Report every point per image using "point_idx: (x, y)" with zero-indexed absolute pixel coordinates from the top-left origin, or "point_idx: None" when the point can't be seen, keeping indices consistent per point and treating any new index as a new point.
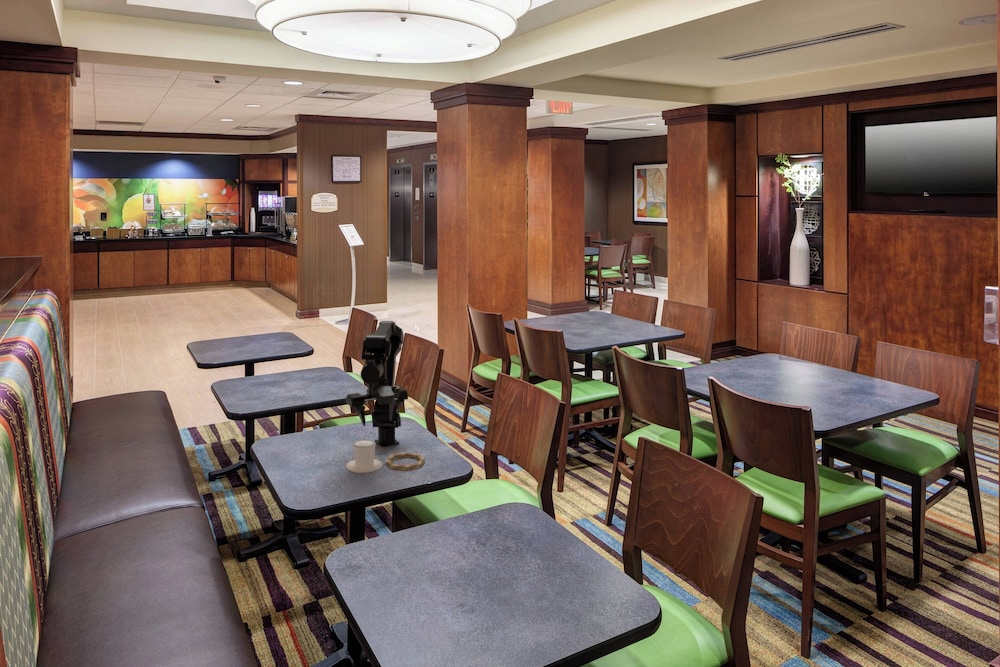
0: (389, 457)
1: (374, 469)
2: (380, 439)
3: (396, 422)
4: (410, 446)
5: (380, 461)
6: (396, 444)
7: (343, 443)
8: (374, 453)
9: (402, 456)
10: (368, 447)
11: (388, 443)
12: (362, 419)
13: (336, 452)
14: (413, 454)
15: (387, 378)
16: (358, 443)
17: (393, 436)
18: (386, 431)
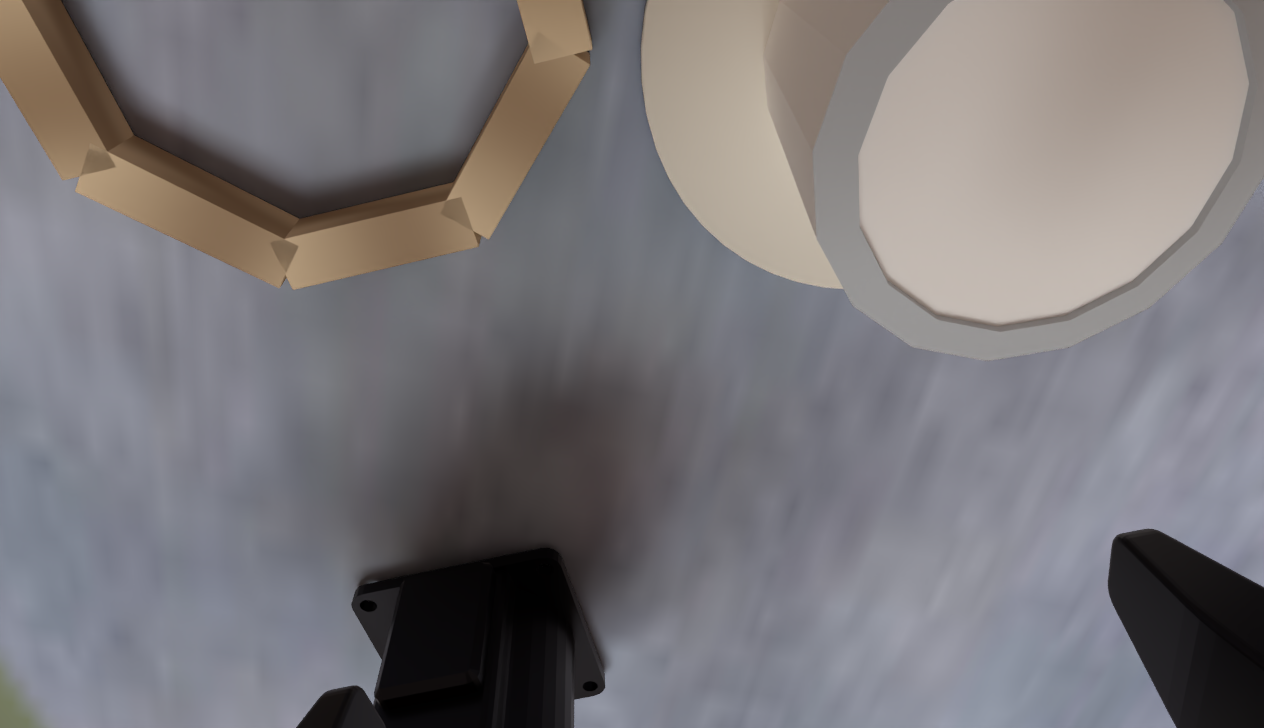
0: (516, 156)
1: None
2: (556, 650)
3: None
4: (226, 516)
5: (652, 119)
6: (386, 580)
7: (888, 692)
8: (794, 61)
9: (326, 217)
10: None
11: (475, 576)
12: None
13: (1030, 528)
14: (145, 174)
15: None
16: (1140, 202)
17: (401, 647)
18: (481, 709)
